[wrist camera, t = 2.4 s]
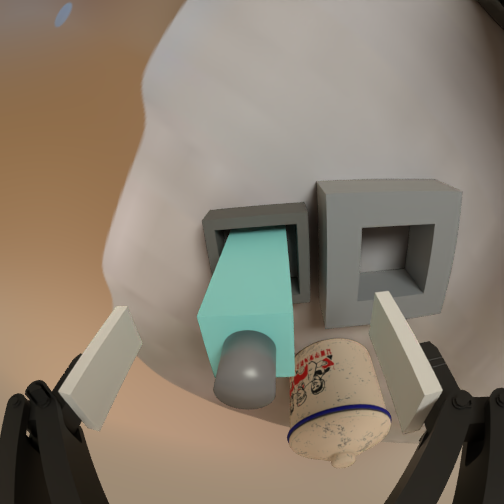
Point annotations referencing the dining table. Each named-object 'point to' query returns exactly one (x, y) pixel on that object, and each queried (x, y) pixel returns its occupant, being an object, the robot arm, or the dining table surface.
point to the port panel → (379, 215)
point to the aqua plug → (250, 317)
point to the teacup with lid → (335, 403)
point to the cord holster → (256, 218)
